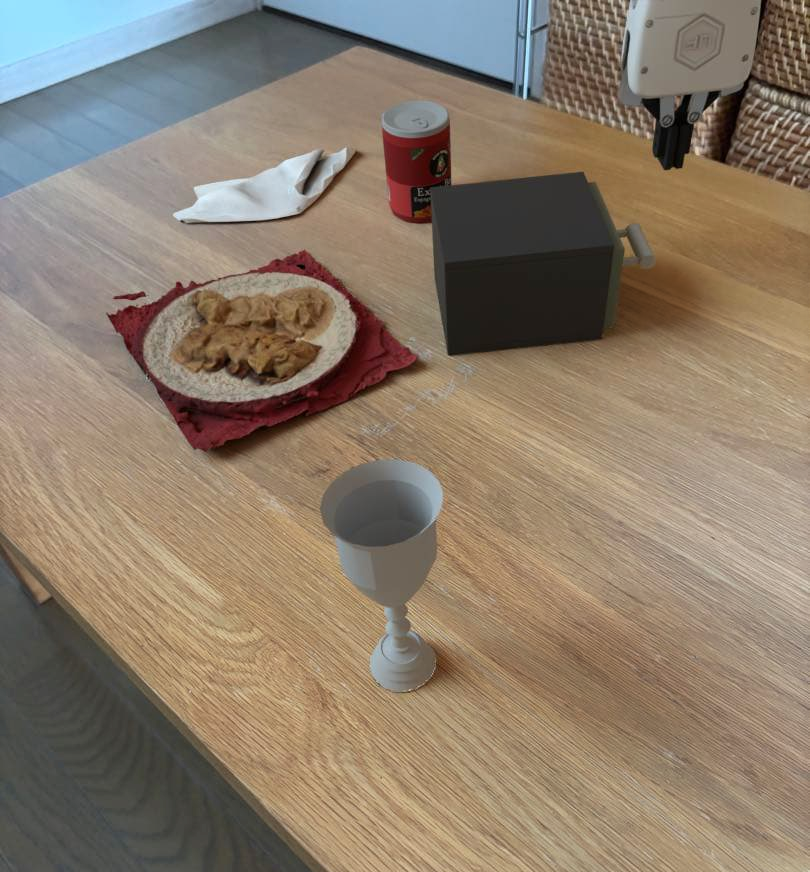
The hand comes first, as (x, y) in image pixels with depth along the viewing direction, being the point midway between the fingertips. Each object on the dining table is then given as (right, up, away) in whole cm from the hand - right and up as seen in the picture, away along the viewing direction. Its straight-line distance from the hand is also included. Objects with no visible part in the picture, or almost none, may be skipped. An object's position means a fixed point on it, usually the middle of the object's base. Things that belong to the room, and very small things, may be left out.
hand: (668, 162), depth 80 cm
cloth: (-41, +9, +30) cm, 52 cm away
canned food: (-23, +5, +25) cm, 34 cm away
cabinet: (-13, -10, +11) cm, 20 cm away
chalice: (-25, -44, -15) cm, 53 cm away
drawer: (-9, -9, +10) cm, 17 cm away
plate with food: (-40, -15, +10) cm, 43 cm away
